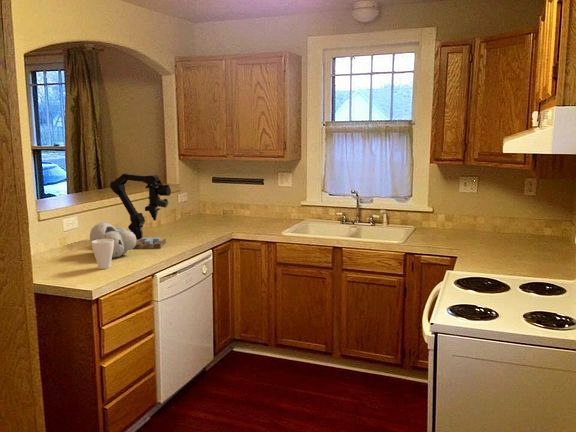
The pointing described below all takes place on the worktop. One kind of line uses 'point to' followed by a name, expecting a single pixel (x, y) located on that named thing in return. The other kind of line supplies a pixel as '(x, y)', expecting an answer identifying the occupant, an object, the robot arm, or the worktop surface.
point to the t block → (150, 240)
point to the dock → (149, 245)
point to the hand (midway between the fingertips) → (154, 220)
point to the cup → (103, 252)
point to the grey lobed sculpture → (114, 238)
